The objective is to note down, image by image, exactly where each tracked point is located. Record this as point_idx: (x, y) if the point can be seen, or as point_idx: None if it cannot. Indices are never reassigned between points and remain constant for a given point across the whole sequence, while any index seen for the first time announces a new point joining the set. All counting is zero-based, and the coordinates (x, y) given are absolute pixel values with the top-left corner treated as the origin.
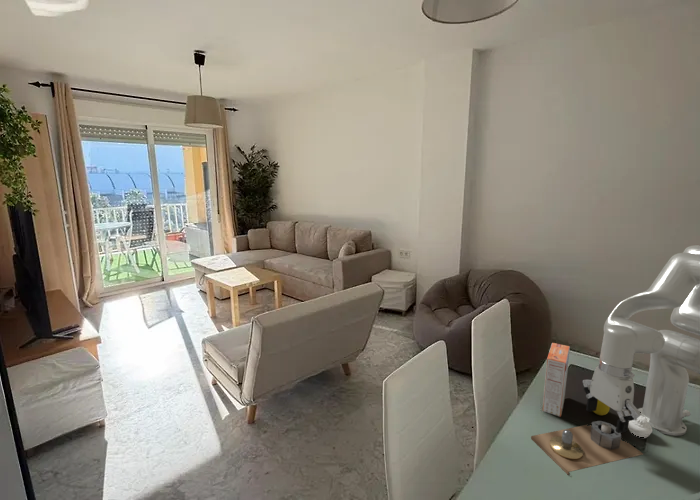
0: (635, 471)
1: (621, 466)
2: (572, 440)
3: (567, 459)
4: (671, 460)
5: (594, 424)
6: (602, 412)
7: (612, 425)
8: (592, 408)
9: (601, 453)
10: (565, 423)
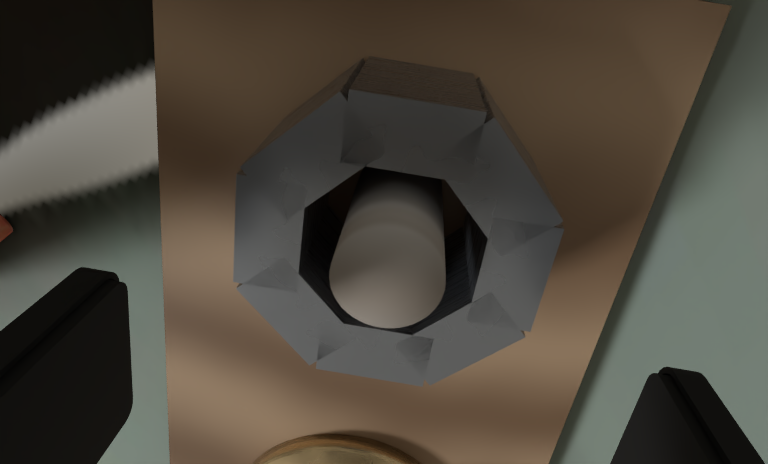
0: (727, 265)
1: (631, 307)
2: (308, 451)
3: None
4: None
5: (275, 296)
6: None
7: (376, 107)
8: (103, 382)
9: (490, 361)
10: (80, 236)
